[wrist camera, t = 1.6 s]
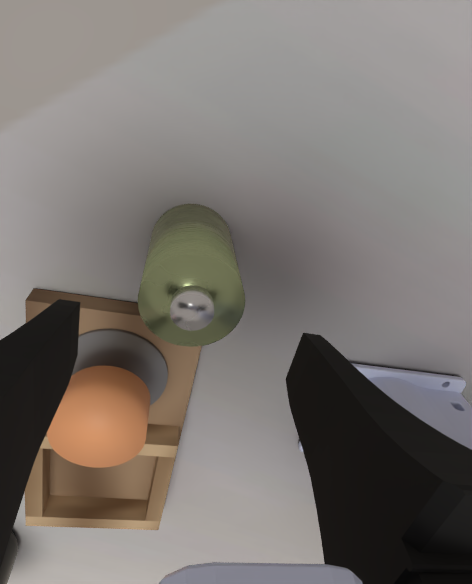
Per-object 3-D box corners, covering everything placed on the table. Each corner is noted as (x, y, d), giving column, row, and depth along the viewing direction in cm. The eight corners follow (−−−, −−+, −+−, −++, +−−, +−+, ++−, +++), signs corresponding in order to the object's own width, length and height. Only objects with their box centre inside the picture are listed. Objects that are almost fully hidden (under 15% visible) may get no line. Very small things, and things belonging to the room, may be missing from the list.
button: (155, 370, 20) (151, 406, 18) (144, 432, 22) (140, 470, 20) (62, 360, 19) (47, 397, 17) (60, 425, 21) (46, 464, 19)
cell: (239, 212, 20) (258, 273, 14) (222, 282, 22) (233, 361, 16) (157, 196, 19) (143, 253, 13) (146, 271, 21) (130, 349, 15)
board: (205, 312, 22) (207, 341, 20) (160, 507, 31) (158, 544, 28) (33, 288, 21) (13, 317, 18) (35, 502, 29) (22, 540, 27)
